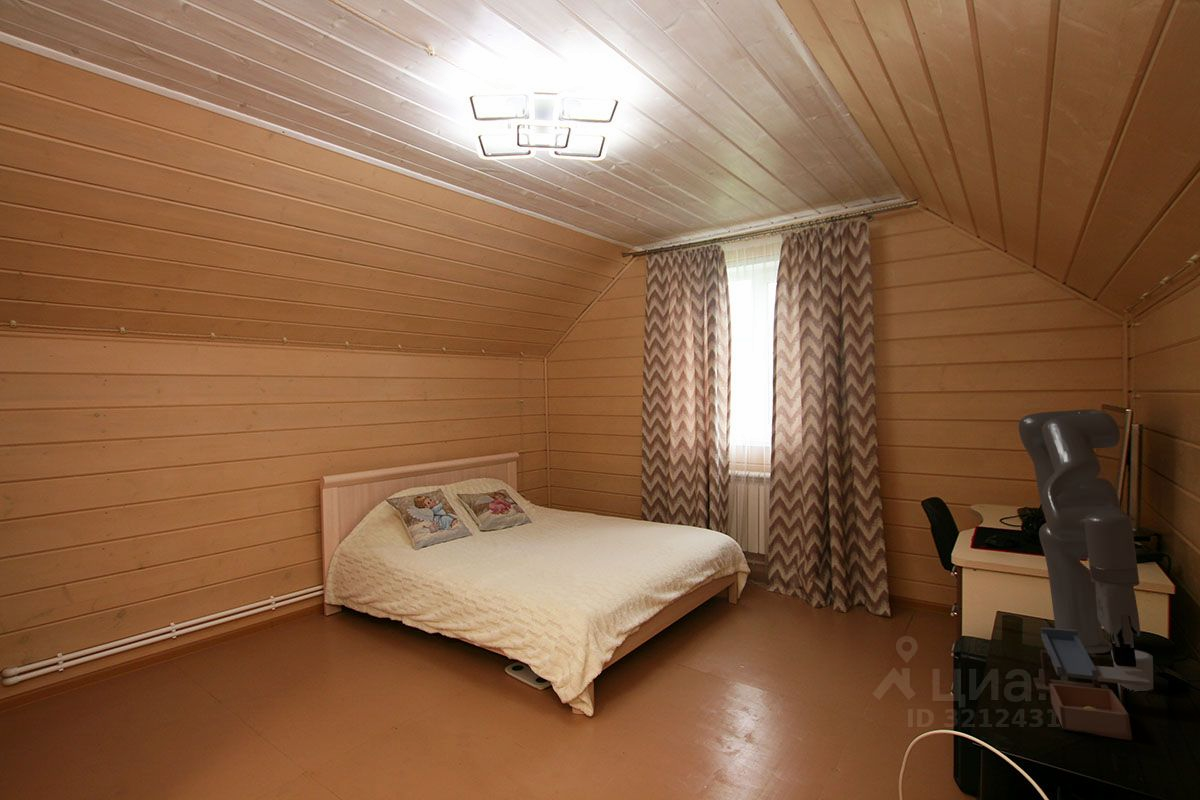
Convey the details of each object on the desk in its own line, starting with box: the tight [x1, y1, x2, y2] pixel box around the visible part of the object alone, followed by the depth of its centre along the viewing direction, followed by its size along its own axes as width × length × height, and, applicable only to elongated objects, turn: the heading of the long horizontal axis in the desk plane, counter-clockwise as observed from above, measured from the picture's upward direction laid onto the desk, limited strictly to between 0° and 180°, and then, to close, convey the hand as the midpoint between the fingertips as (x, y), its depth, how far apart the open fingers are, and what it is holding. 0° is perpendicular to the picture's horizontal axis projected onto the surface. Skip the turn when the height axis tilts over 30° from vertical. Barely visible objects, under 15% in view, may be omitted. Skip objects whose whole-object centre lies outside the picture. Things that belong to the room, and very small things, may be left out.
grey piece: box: [1040, 627, 1151, 686], centre depth 127 cm, size 17×15×4 cm
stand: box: [1032, 648, 1110, 695], centre depth 128 cm, size 6×13×8 cm, turn 61°
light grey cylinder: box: [1110, 649, 1154, 692], centre depth 128 cm, size 7×7×7 cm
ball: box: [1083, 706, 1097, 710], centre depth 113 cm, size 3×3×3 cm
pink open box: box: [1049, 683, 1133, 741], centre depth 115 cm, size 11×10×4 cm
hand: (1125, 664), depth 120 cm, fingers closed
